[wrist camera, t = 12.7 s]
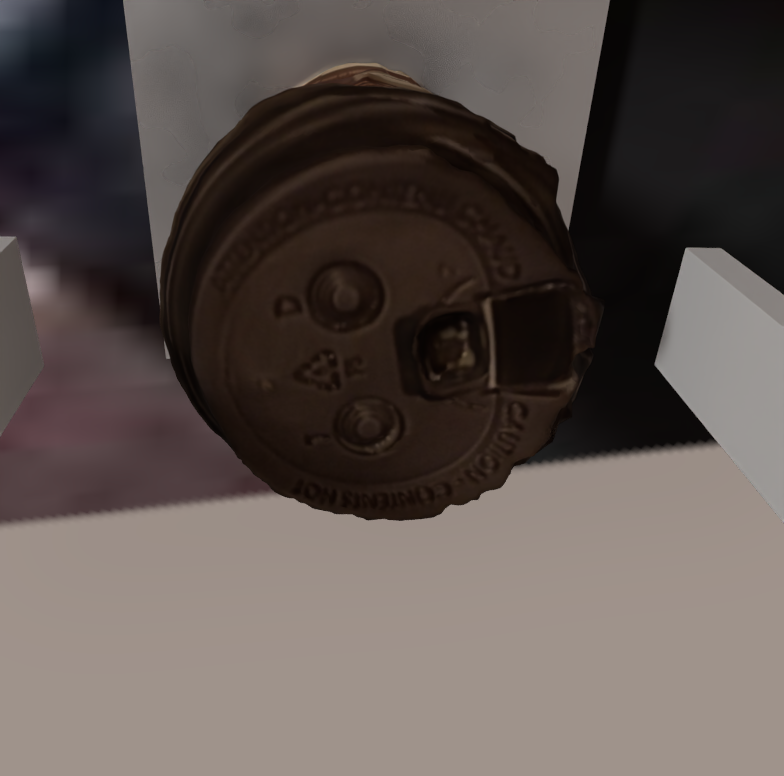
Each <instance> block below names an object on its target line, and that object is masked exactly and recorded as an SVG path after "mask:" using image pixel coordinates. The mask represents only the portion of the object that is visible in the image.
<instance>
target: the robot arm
mask: <svg viewBox="0 0 784 776" xmlns="http://www.w3.org/2000/svg"><path fill="white" fill-rule="evenodd" d="M655 366H656V367H657V368H658V370H659V371H660V372H661V373H662V375H663V376H664V377H665V378H666V380H667V381H668V382H669V383H670V384H671V386H672V387H673V388H674V389H675V391H676V392H677V393H678V394H679V395H680V397H681V398H682V399H683V400H684V402H685V403H686V404H687V405H688V407H689V408H690V409H691V410H692V411H693V413H694V414H695V415H696V416H697V418H698V419H699V420H700V421H701V422H702V424H703V425H704V426H705V427H706V429H707V430H708V431H709V432H710V434H711V435H712V436H713V437H714V438H715V440H716V441H717V442H718V443H719V445H720V446H721V447H722V448H723V449H724V451H725V452H726V453H727V454H728V455H729V457H730V458H731V459H732V460H733V462H734V463H735V464H736V465H737V466H738V468H739V469H740V470H741V471H742V473H743V474H744V475H745V476H746V478H747V479H748V480H749V481H750V483H751V484H752V485H753V486H754V487H755V489H756V490H757V491H758V492H759V494H760V495H761V496H762V497H763V499H764V500H765V501H766V502H767V503H768V505H769V506H770V507H771V508H772V509H773V511H774V512H775V513H776V514H777V516H778V517H779V518H780V519H781V521H782V522H783V523H784V295H783V294H782V293H780V292H779V291H778V290H776V289H775V288H774V287H772V286H771V285H770V284H768V283H767V282H766V281H764V280H763V279H762V278H760V277H759V276H758V275H756V274H755V273H753V272H752V271H751V270H749V269H748V268H747V267H745V266H744V265H743V264H741V263H740V262H739V261H737V260H736V259H735V258H733V257H732V256H731V255H729V254H728V253H727V252H725V251H724V250H723V249H721V248H686V249H685V253H684V256H683V260H682V264H681V268H680V271H679V275H678V279H677V282H676V286H675V290H674V294H673V297H672V301H671V305H670V309H669V312H668V316H667V320H666V324H665V327H664V331H663V335H662V339H661V342H660V346H659V350H658V354H657V357H656V361H655ZM43 367H44V363H43V358H42V353H41V349H40V344H39V340H38V335H37V330H36V326H35V321H34V317H33V312H32V307H31V303H30V298H29V294H28V289H27V284H26V280H25V275H24V271H23V266H22V261H21V257H20V252H19V248H18V243H17V238H16V237H0V436H1V434H2V433H3V431H4V430H5V428H6V426H7V425H8V423H9V422H10V420H11V418H12V417H13V415H14V414H15V412H16V410H17V409H18V407H19V406H20V404H21V402H22V401H23V399H24V398H25V396H26V394H27V393H28V391H29V390H30V388H31V386H32V385H33V383H34V382H35V380H36V378H37V377H38V375H39V373H40V372H41V370H42V369H43Z"/></svg>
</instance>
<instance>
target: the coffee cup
mask: <svg viewBox="0 0 784 776" xmlns="http://www.w3.org/2000/svg"><path fill="white" fill-rule="evenodd" d="M558 185H559V176H558V172H557V169H556V168H554V167H552V166H550V165H549V164H547V163H546V161H545V159H544V157H543V156H541V155H540V154H538V153H537V152H535V151H532V150H529V149H527V148H525V147H523V146H521V145H519V144H518V143H517V141H516V137H515V135H513V134H512V133H510V132H508V131H507V130H505V129H503V128H501V127H500V126H498V125H496V124H495V123H493V122H492V121H491V120H489V119H487V118H485V117H483V116H480V115H477V114H475V113H473V112H471V111H470V110H469V109H467V108H466V107H465V106H463V105H462V104H461V103H459V102H457V101H454V100H451V99H447V98H444V97H442V96H439V95H435V94H433V93H431V92H430V91H428V90H426V89H425V88H423V87H421V86H420V85H419V84H418V83H417V82H416V81H415V80H413V79H412V78H411V77H409V75H407V74H405V73H403V72H402V71H393V70H389V69H387V68H386V67H385V66H382V65H380V64H378V63H346V64H343V65H339V66H335V67H333V68H331V69H328V70H326V71H324V72H323V73H321V74H319V75H318V76H316V77H315V78H313V79H311V80H310V81H308V82H307V83H305V84H304V85H302V86H300V87H295V88H291V89H287V90H285V91H282V92H280V93H278V94H276V95H274V96H271V97H268V98H266V99H263V100H262V101H260V102H259V103H257V104H255V105H254V106H252V107H251V108H250V109H249V110H248V112H247V113H246V114H245V116H244V117H243V118H242V119H241V120H240V121H239V122H238V123H237V125H236V126H235V127H234V128H233V129H232V130H231V131H230V132H228V133H227V134H226V135H225V136H224V137H223V138H222V139H221V140H219V141H218V142H217V143H216V145H215V146H214V147H213V149H212V150H211V151H210V152H209V154H208V155H207V156H206V157H205V159H204V160H203V161H202V163H201V164H200V165H199V167H198V168H197V170H196V171H195V173H194V175H193V177H192V179H191V180H190V182H189V183H188V185H187V187H186V190H185V192H184V194H183V197H182V199H181V201H180V202H179V205H178V208H177V210H176V212H175V215H174V219H173V223H172V227H171V232H170V236H169V237H168V240H167V243H166V246H165V248H164V251H163V255H162V260H161V275H160V327H161V330H162V334H163V337H164V341H165V344H166V347H167V350H168V352H169V356H170V359H171V363H172V366H173V369H174V371H175V373H176V377H177V379H178V381H179V382H180V384H181V386H182V388H183V389H184V391H185V392H186V394H187V396H188V398H189V400H190V401H191V403H192V405H193V406H194V408H195V409H196V411H197V412H198V414H199V415H200V416H201V417H202V418H203V420H204V421H205V422H206V423H207V425H208V426H209V427H210V428H211V429H212V430H213V431H214V432H215V433H216V434H217V435H219V436H220V437H222V439H223V440H224V441H225V442H226V443H227V444H228V445H229V446H230V447H231V448H232V450H233V451H234V452H235V454H236V455H237V457H238V458H239V459H241V460H242V463H243V464H244V465H246V466H247V467H248V468H249V469H250V470H251V471H252V473H253V474H254V475H255V476H257V477H259V478H260V479H261V480H262V481H264V482H265V483H267V484H268V485H269V486H270V488H271V489H272V490H273V491H274V492H276V493H278V494H280V495H282V496H284V497H287V498H294V499H296V500H297V501H299V502H301V503H305V504H307V505H308V506H310V507H312V508H314V509H318V510H323V511H329V512H332V513H334V514H353V515H355V516H356V517H361V518H364V519H366V520H376V519H387V520H399V521H403V520H415V519H424V518H432V517H435V516H437V515H439V514H441V513H442V512H443V511H444V509H445V508H446V507H448V506H449V505H451V504H452V505H464V504H466V503H468V502H469V501H471V500H478V499H479V497H480V495H481V494H482V493H484V492H486V491H489V490H495V489H498V488H501V487H502V486H503V485H504V483H505V482H506V480H507V478H508V476H509V475H510V474H511V470H512V468H513V467H514V466H516V465H520V464H524V463H526V462H527V461H528V459H529V458H530V457H531V456H534V455H535V454H536V453H537V452H539V451H540V450H541V449H543V448H544V447H546V446H547V445H548V444H550V443H551V442H553V439H554V436H555V433H556V431H557V428H558V425H559V424H560V423H562V422H563V421H565V420H567V419H569V418H571V417H572V402H573V401H574V400H575V399H576V396H577V392H578V389H579V387H580V384H581V382H582V379H583V376H584V374H585V372H586V370H587V369H588V367H589V366H590V364H591V362H592V359H593V356H594V355H593V353H592V351H591V349H590V348H594V346H595V340H596V335H597V332H598V329H599V326H600V323H601V319H602V315H603V311H604V306H605V300H603V299H600V298H598V297H594V296H592V295H591V290H590V287H589V285H588V282H587V280H586V278H585V276H584V274H583V272H582V270H581V268H580V265H579V262H578V258H577V254H576V251H575V248H574V244H573V242H572V239H571V237H570V234H569V232H568V229H567V227H566V225H565V222H564V220H563V217H562V214H561V211H560V209H559V207H558V205H557V202H556V198H557V191H558Z"/></svg>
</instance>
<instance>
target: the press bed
mask: <svg viewBox="0 0 784 776" xmlns="http://www.w3.org/2000/svg"><path fill="white" fill-rule="evenodd" d="M123 2H124V10H125V19H126V27H127V35H128V44H129V52H130V60H131V69H132V77H133V85H134V94H135V102H136V110H137V119H138V127H139V135H140V144H141V152H142V160H143V169H144V177H145V185H146V194H147V202H148V210H149V219H150V227H151V235H152V244H153V252H154V260H155V268H156V277H157V285H158V293H159V302H160V275H161V260H162V255H163V251H164V248H165V246H166V243H167V240H168V237H169V236H170V232H171V227H172V223H173V219H174V215H175V212H176V210H177V208H178V205H179V202H180V201H181V199H182V197H183V194H184V192H185V190H186V187H187V185H188V183H189V182H190V180H191V179H192V177H193V175H194V173H195V171H196V170H197V168H198V167H199V165H200V164H201V163H202V161H203V160H204V159H205V157H206V156H207V155H208V154H209V152H210V151H211V150H212V149H213V147H214V146H215V145H216V143H217V142H218V141H219V140H221V139H222V138H223V137H224V136H225V135H226V134H227V133H228V132H230V131H231V130H232V129H233V128H234V127H235V126H236V125H237V123H238V122H239V121H240V120H241V119H242V118H243V117H244V116H245V114H246V113H247V112H248V110H249V109H250V108H251V107H252V106H254V105H255V104H257V103H259V102H260V101H262V100H263V99H266V98H268V97H271V96H274V95H276V94H278V93H280V92H282V91H285V90H287V89H291V88H295V87H300V86H302V85H304V84H305V83H307V82H308V81H310V80H311V79H313V78H315V77H316V76H318V75H319V74H321V73H323V72H324V71H326V70H328V69H331V68H333V67H335V66H339V65H343V64H346V63H378V64H380V65H382V66H385V67H386V68H387V69H389V70H393V71H402V72H403V73H405V74H407V75H409V77H411V78H412V79H413V80H415V81H416V82H417V83H418V84H419V85H420V86H421V87H423V88H425V89H426V90H428V91H430V92H431V93H433V94H435V95H439V96H442V97H444V98H447V99H451V100H454V101H457V102H459V103H461V104H462V105H463V106H465V107H466V108H467V109H469V110H470V111H471V112H473V113H475V114H477V115H480V116H483V117H485V118H487V119H489V120H491V121H492V122H493V123H495V124H496V125H498V126H500V127H501V128H503V129H505V130H507V131H508V132H510V133H512V134H513V135H515V137H516V141H517V143H518V144H519V145H521V146H523V147H525V148H527V149H529V150H532V151H535V152H537V153H538V154H540V155H541V156H543V157H544V159H545V161H546V163H547V164H549V165H550V166H552V167H554V168H556V169H557V172H558V176H559V185H558V191H557V198H556V202H557V205H558V207H559V209H560V211H561V214H562V217H563V220H564V222H565V225H566V227H567V229H568V230H569V224H570V219H571V213H572V207H573V202H574V196H575V191H576V185H577V180H578V174H579V169H580V163H581V157H582V152H583V146H584V141H585V135H586V130H587V124H588V119H589V113H590V108H591V102H592V96H593V91H594V85H595V80H596V74H597V69H598V63H599V58H600V52H601V46H602V41H603V35H604V30H605V24H606V19H607V13H608V8H609V2H610V0H123ZM164 343H165V341H164ZM165 352H166V359H170V356H169V352H168V350H167V347H166V344H165Z"/></svg>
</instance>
